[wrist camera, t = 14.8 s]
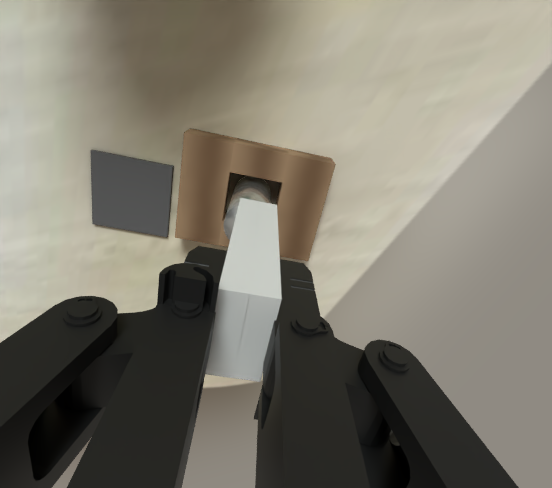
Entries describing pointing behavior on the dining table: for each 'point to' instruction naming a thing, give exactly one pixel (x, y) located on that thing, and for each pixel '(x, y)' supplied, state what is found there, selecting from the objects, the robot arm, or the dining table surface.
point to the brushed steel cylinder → (247, 190)
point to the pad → (130, 193)
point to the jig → (257, 163)
